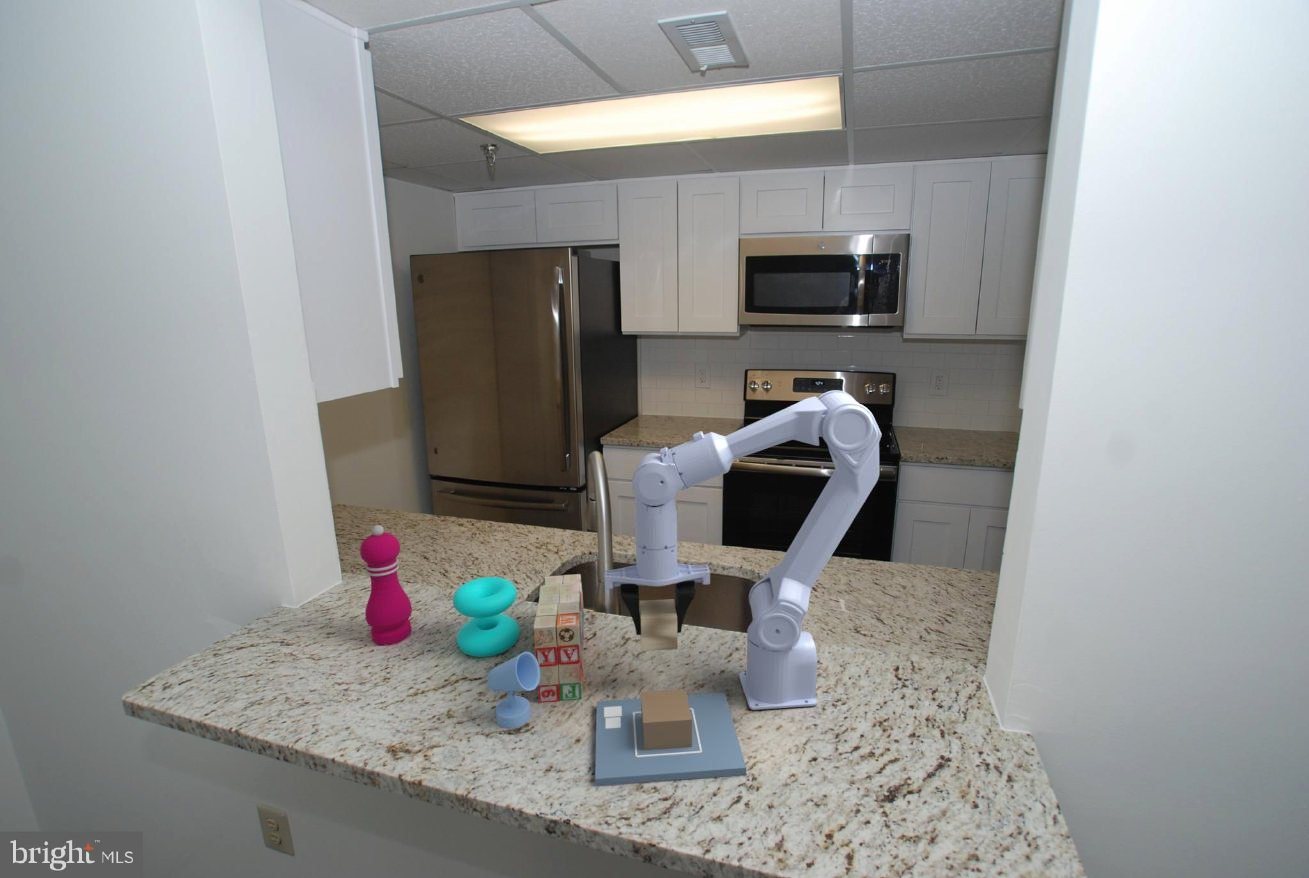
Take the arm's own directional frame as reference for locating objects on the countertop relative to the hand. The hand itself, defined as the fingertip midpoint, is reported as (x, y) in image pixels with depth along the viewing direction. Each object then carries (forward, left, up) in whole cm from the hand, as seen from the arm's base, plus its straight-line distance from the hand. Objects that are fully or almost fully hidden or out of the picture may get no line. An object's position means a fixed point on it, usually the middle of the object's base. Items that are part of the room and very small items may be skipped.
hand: (658, 630), depth 88 cm
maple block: (0, 0, -2) cm, 2 cm away
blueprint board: (0, +10, -9) cm, 14 cm away
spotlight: (+20, +4, -10) cm, 23 cm away
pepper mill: (+44, -19, -10) cm, 49 cm away
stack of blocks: (+14, -9, -10) cm, 19 cm away
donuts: (+27, -15, -10) cm, 32 cm away
